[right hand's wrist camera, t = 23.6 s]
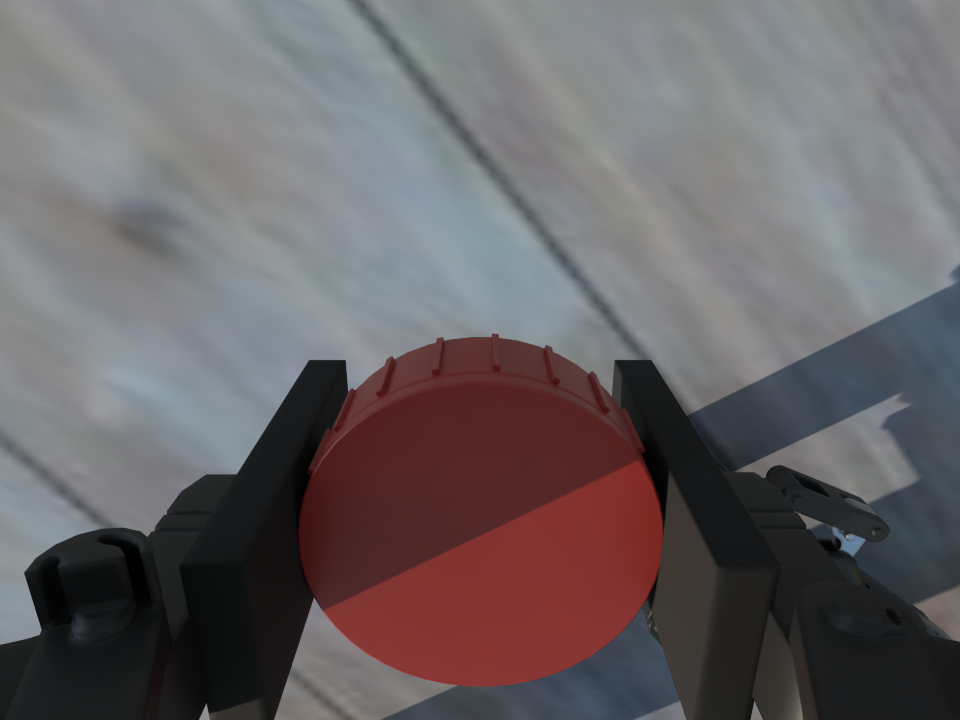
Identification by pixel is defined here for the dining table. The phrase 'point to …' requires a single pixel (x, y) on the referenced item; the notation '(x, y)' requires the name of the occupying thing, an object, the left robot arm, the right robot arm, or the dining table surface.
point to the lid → (480, 514)
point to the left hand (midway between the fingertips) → (649, 504)
